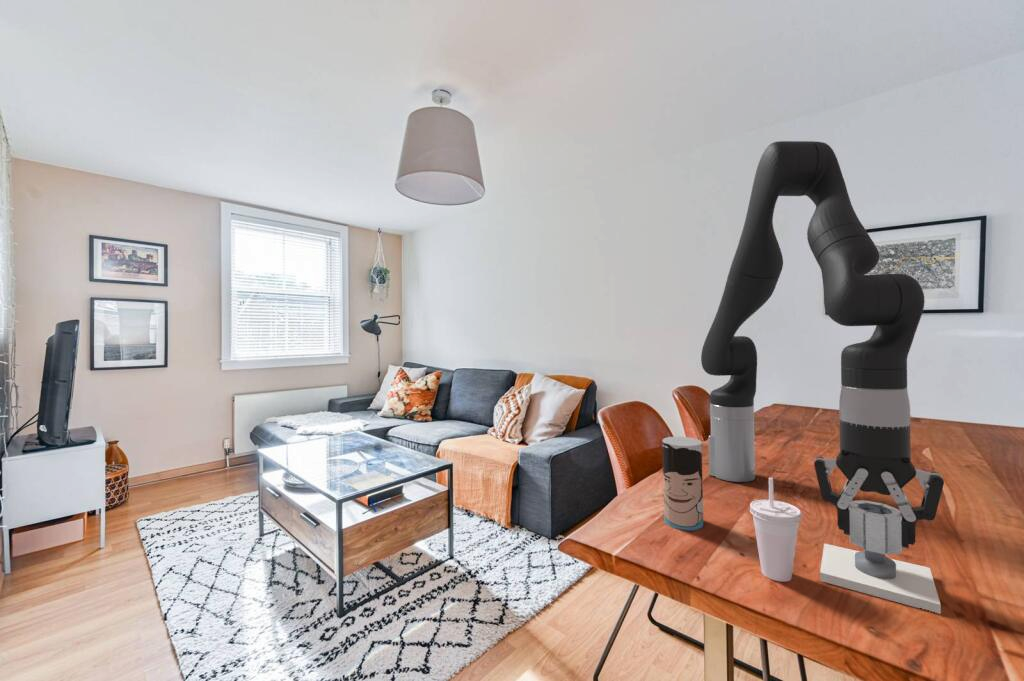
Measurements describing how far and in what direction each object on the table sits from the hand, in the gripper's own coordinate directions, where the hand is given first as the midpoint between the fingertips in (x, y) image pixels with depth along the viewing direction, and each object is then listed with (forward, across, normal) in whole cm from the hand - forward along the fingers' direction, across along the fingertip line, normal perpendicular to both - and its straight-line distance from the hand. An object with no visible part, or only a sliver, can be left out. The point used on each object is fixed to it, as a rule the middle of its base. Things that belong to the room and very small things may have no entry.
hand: (875, 538), depth 60 cm
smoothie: (+6, -11, -7) cm, 14 cm away
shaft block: (+6, 0, 0) cm, 6 cm away
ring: (+1, 0, 0) cm, 1 cm away
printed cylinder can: (+6, -27, +3) cm, 28 cm away
